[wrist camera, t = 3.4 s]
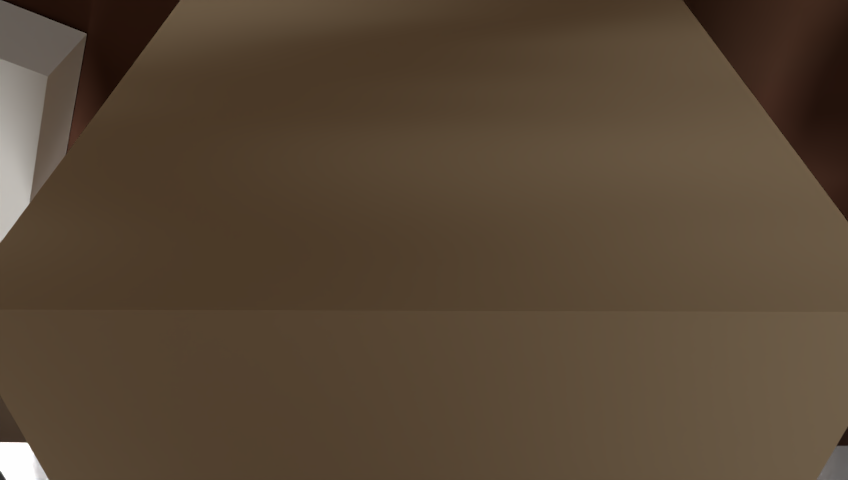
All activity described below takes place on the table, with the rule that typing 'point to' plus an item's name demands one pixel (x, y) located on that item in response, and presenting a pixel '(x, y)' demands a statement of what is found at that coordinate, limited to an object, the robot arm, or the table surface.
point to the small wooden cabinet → (33, 103)
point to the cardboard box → (428, 256)
